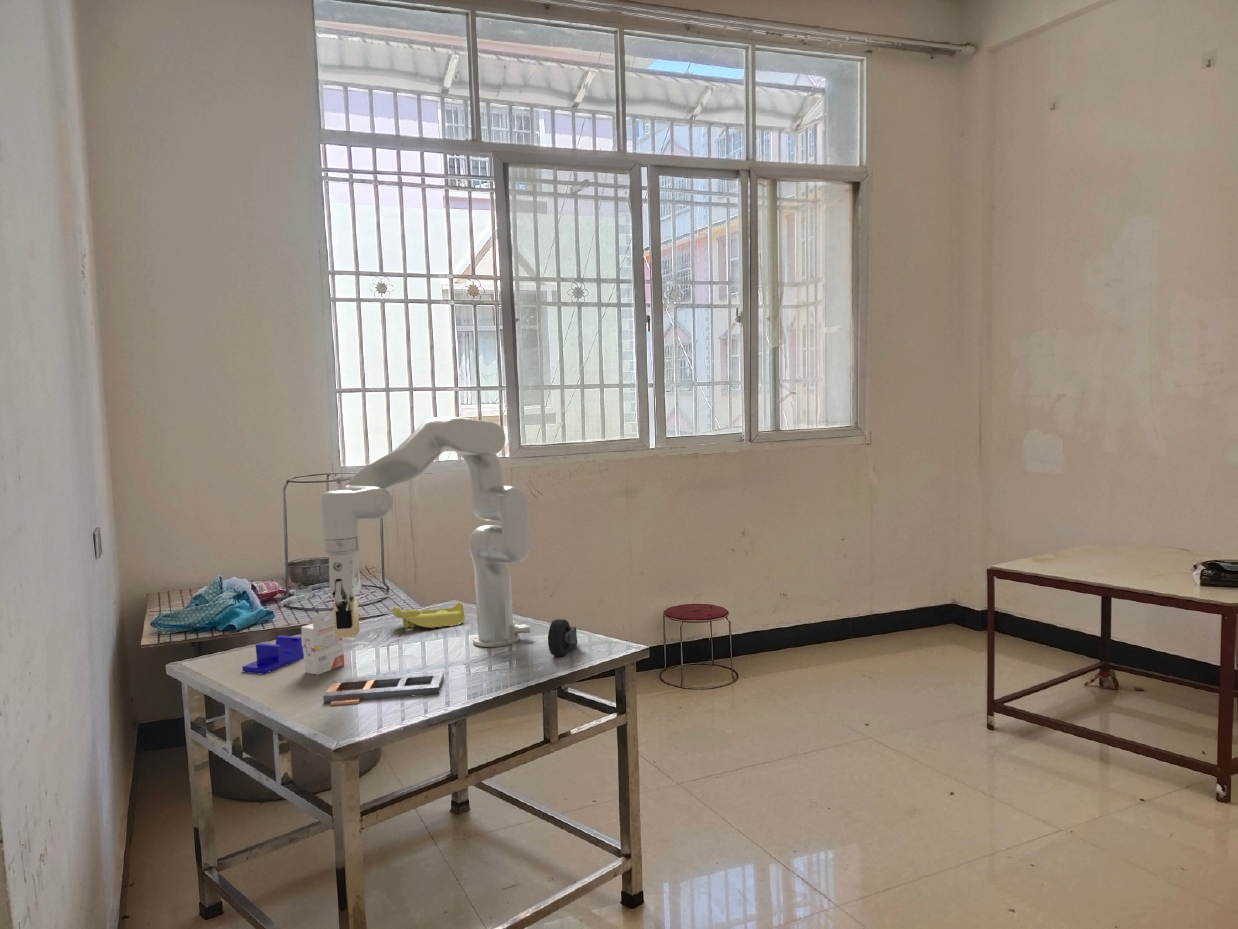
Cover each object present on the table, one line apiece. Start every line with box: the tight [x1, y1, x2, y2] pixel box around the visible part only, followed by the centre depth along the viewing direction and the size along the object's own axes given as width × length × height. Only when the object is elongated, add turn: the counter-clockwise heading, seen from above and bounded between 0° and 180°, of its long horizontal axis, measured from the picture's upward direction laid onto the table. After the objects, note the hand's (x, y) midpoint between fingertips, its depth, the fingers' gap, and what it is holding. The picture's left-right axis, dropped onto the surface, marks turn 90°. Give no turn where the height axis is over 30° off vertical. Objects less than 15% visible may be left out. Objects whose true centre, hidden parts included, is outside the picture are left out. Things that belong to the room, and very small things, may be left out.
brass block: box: [332, 596, 360, 639], centre depth 189 cm, size 4×4×8 cm
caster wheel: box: [547, 618, 578, 657], centre depth 215 cm, size 6×10×15 cm
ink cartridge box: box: [300, 610, 345, 676], centre depth 209 cm, size 9×5×15 cm, turn 148°
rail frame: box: [322, 671, 445, 706], centre depth 190 cm, size 25×13×2 cm, turn 96°
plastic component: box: [391, 601, 466, 629], centre depth 247 cm, size 20×7×10 cm
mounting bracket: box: [242, 635, 304, 675], centre depth 217 cm, size 18×7×6 cm, turn 159°
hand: (346, 624), depth 189 cm, fingers closed on brass block, 4 cm apart
